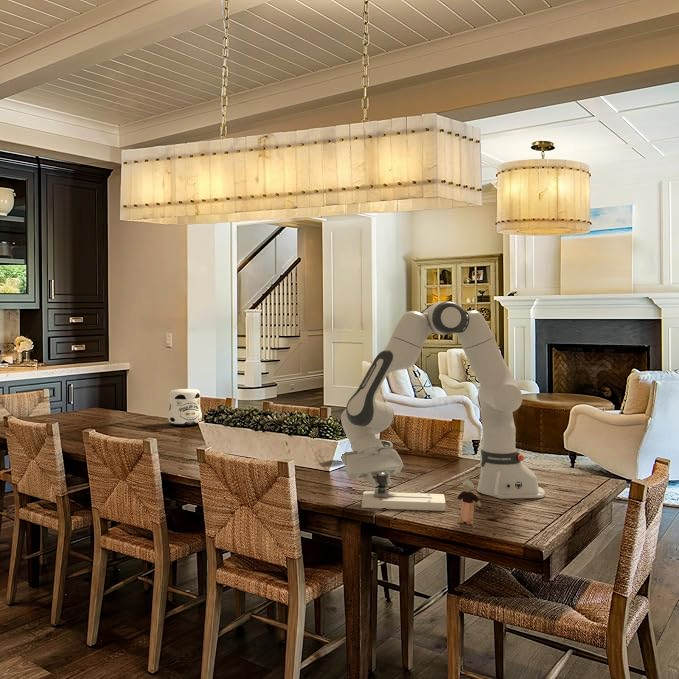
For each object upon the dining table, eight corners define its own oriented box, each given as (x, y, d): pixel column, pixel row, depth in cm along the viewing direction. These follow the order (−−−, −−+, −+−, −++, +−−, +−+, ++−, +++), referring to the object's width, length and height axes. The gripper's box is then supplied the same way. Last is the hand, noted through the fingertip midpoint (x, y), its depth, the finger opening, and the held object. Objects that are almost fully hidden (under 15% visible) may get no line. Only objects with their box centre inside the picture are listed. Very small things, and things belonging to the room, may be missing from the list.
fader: (388, 493, 223) (388, 471, 223) (388, 497, 219) (388, 474, 219) (375, 492, 224) (375, 471, 223) (374, 496, 219) (374, 474, 219)
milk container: (189, 428, 352) (189, 393, 351) (161, 426, 358) (161, 391, 357) (208, 423, 368) (208, 389, 367) (180, 421, 374) (180, 387, 373)
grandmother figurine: (453, 523, 202) (454, 480, 202) (456, 519, 206) (456, 477, 205) (479, 526, 200) (480, 483, 199) (482, 522, 203) (482, 479, 203)
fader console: (443, 501, 224) (444, 493, 224) (445, 510, 214) (445, 502, 214) (363, 498, 227) (364, 491, 227) (361, 507, 217) (361, 499, 217)
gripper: (343, 447, 221) (358, 484, 213) (395, 441, 232) (412, 477, 224) (336, 458, 225) (351, 495, 217) (388, 452, 236) (404, 487, 228)
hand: (382, 486), depth 221 cm, fingers closed on fader, 3 cm apart
